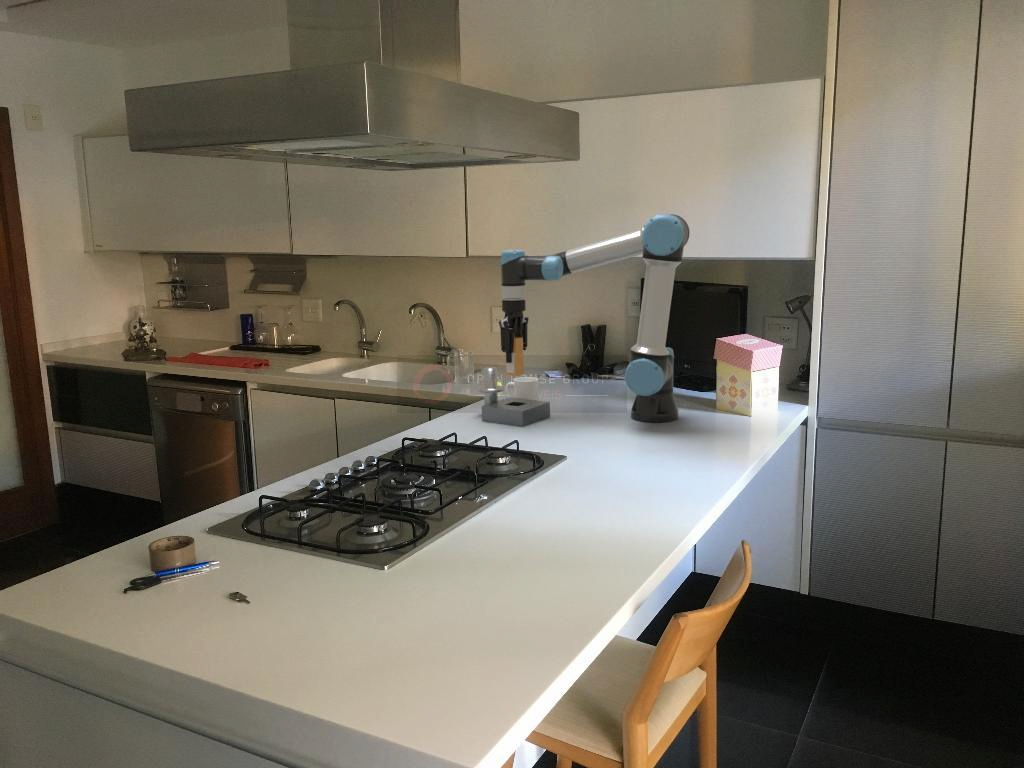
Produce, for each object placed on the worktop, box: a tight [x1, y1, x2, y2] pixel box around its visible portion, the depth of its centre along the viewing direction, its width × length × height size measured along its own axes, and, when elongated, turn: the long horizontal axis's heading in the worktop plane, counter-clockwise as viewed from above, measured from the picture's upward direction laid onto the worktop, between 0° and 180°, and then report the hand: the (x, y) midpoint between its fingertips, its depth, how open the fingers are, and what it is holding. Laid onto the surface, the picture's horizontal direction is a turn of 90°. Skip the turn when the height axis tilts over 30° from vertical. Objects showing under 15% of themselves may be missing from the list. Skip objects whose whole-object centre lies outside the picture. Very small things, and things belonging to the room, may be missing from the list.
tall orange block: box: [505, 336, 525, 377], centre depth 269 cm, size 4×4×12 cm
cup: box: [504, 376, 540, 401], centre depth 288 cm, size 8×12×10 cm
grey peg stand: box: [477, 366, 551, 428], centre depth 273 cm, size 22×16×16 cm
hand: (515, 371), depth 270 cm, fingers closed on tall orange block, 4 cm apart
